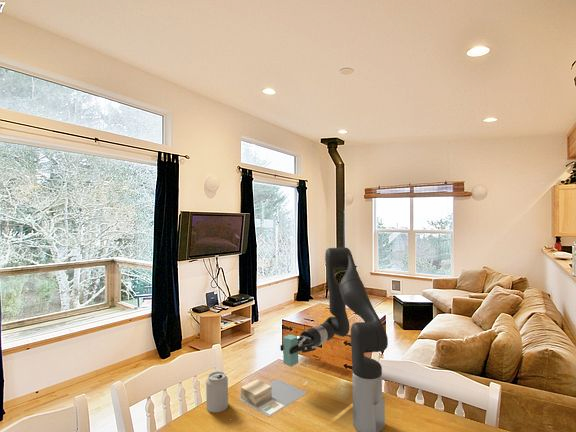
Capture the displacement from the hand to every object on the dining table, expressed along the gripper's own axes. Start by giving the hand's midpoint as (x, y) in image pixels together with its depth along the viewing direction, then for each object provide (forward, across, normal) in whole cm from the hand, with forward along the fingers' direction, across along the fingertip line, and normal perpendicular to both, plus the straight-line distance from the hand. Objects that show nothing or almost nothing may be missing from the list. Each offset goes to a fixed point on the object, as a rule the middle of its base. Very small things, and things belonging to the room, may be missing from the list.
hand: (285, 349), depth 125 cm
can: (+22, -13, +18) cm, 31 cm away
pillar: (-3, 0, +6) cm, 7 cm away
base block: (+9, -7, +17) cm, 20 cm away
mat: (+4, -3, +18) cm, 18 cm away
